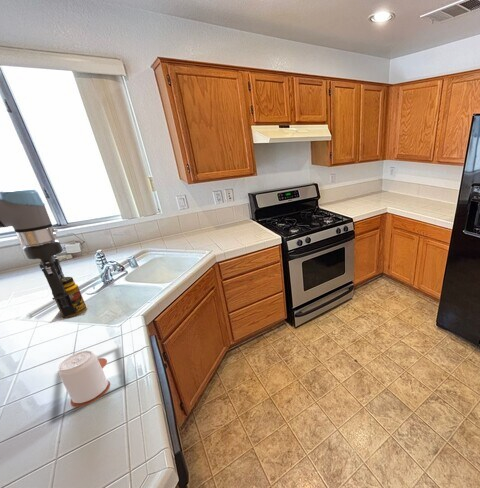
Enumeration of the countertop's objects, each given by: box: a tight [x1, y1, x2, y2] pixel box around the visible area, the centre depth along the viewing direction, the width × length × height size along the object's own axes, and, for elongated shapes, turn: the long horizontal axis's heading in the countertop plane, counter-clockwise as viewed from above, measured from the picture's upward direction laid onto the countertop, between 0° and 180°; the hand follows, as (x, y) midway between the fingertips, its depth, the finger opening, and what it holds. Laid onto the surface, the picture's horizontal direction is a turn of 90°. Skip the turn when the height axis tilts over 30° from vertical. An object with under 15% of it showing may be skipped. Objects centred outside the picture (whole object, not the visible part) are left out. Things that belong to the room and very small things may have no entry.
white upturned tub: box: [57, 350, 109, 403], centre depth 74 cm, size 8×8×12 cm
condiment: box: [49, 276, 92, 324], centre depth 83 cm, size 7×8×12 cm
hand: (70, 310), depth 84 cm, fingers closed on condiment, 6 cm apart
